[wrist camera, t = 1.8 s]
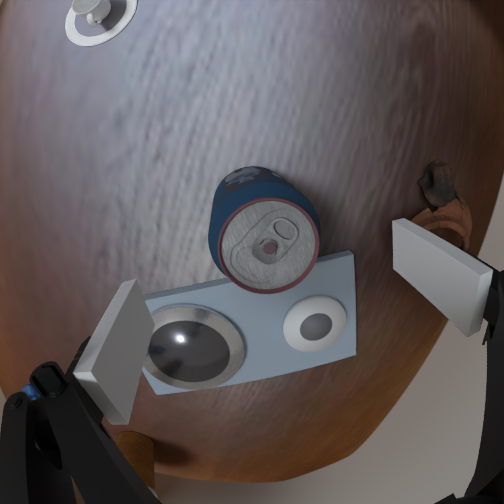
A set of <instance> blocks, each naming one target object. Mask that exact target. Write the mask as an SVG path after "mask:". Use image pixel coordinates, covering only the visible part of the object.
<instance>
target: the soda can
mask: <svg viewBox="0 0 504 504" xmlns="http://www.w3.org/2000/svg"><path fill="white" fill-rule="evenodd" d="M320 236H321V231H320V223H319V219H318V216H317V214H316V211H315V209H314V208H313V206H312V205H311V203H310V202H309V201H308V200H307V198H306V197H304V196H303V195H302V194H301V193H300V192H299V191H297V190H296V189H295V188H294V187H292V186H291V185H290V184H288V183H287V182H286V181H285V180H283V179H282V178H281V177H279V176H278V175H277V174H276V173H274V172H272V171H270V170H268V169H266V168H262V167H255V166H251V167H244V168H240V169H238V170H235V171H233V172H232V173H230V174H229V175H227V176H226V177H225V178H224V179H223V180H222V182H221V183H220V184H219V186H218V188H217V190H216V192H215V195H214V200H213V206H212V213H211V219H210V226H209V233H208V243H209V249H210V252H211V255H212V258H213V260H214V262H215V264H216V265H217V267H218V268H219V269H220V271H221V272H222V273H223V274H224V275H225V276H226V277H228V278H229V279H230V280H231V281H232V282H233V283H235V284H236V285H237V286H239V287H240V288H242V289H244V290H247V291H249V292H252V293H257V294H275V293H280V292H283V291H286V290H289V289H291V288H293V287H295V286H296V285H298V284H299V283H300V282H301V281H303V280H304V279H305V278H306V276H307V275H308V274H309V273H310V271H311V270H312V268H313V267H314V265H315V262H316V260H317V257H318V253H319V244H320Z"/></svg>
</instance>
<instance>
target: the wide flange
mask: <svg viewBox="0 0 504 504" xmlns="http://www.w3.org/2000/svg"><path fill="white" fill-rule="evenodd" d="M150 314H151V317H152V319H153V321H154V324H155V326H154V330H153V333H152V336H151V340H150V343H149V347H148V350H147V354H146V357H145V361H144V364H143V366H144V368H145V369H146V370H147V371H148V372H149V373H150V374H151V375H153V376H154V377H155V378H157V379H158V380H160V381H162V382H164V383H166V384H168V385H171V386H173V387H177V388H181V389H188V390H202V389H209V388H213V387H216V386H219V385H221V384H223V383H225V382H227V381H228V380H229V379H231V378H232V377H233V376H234V375H235V374H236V373H237V372H238V370H239V369H240V367H241V365H242V362H243V358H244V347H243V341H242V337H241V334H240V332H239V330H238V329H237V327H236V326H235V325H234V323H233V322H232V321H231V320H230V319H229V318H227V317H226V316H225V315H223V314H222V313H220V312H218V311H217V310H214V309H212V308H210V307H207V306H204V305H200V304H195V303H175V304H169V305H166V306H163V307H160V308H158V309H156V310H155V311H153V312H152V313H150Z"/></svg>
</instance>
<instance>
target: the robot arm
mask: <svg viewBox="0 0 504 504" xmlns="http://www.w3.org/2000/svg"><path fill="white" fill-rule="evenodd" d="M392 228H393V269H394V270H395V271H396V272H398V273H399V274H400V275H401V276H402V277H403V278H404V279H406V280H407V281H408V282H409V283H410V284H411V285H412V286H413V287H415V288H416V289H417V290H418V291H419V292H420V293H421V294H422V295H423V296H425V297H426V298H427V299H428V300H429V301H430V302H431V303H432V304H433V305H434V306H435V307H436V308H438V309H439V310H440V311H441V312H442V313H443V314H444V315H445V316H446V317H447V318H448V319H449V320H450V321H451V322H452V323H453V324H454V325H455V326H456V327H457V328H458V329H460V330H461V332H462V333H464V334H465V335H466V336H467V337H469V336H471V335H473V334H474V333H476V332H478V331H480V328H481V324H482V321H483V318H484V319H485V320H487V321H488V326H487V329H486V333H485V336H484V339H483V343H482V345H484V344H485V341H487V385H486V402H485V412H484V413H485V414H484V421H483V430H482V436H481V443H480V449H479V455H478V460H477V465H476V469H475V473H474V476H473V478H472V480H471V482H470V484H469V486H468V488H467V490H466V492H465V495H464V497H461V498H457V499H456V497H455V495H454V494H451V495H449V496H447V497H446V498H444V499H442V500H440V501H438V502H437V503H435V504H504V270H503V271H501V272H499V271H498V270H496V269H495V268H493V267H492V266H490V265H488V264H487V263H485V262H484V261H481V260H480V259H479V258H477V257H475V256H474V255H472V254H471V253H469V252H467V251H464V250H461V249H459V248H457V247H455V246H453V245H452V244H450V243H448V242H447V241H445V240H443V239H441V238H440V237H438V236H436V235H434V234H433V233H431V232H429V231H427V230H425V229H423V228H422V227H420V226H418V225H416V224H414V223H412V222H410V221H409V220H407V219H405V218H402V219H398V220H394V221H392ZM154 326H155V324H154V321H153V319H152V317H151V314H150V312H149V309H148V307H147V305H146V302H145V300H144V297H143V295H142V292H141V290H140V287H139V285H138V282H137V280H136V279H134V280H130V281H125V282H123V283H122V284H121V286H120V288H119V289H118V291H117V293H116V294H115V296H114V298H113V299H112V301H111V303H110V305H109V306H108V308H107V310H106V312H105V313H104V315H103V317H102V319H101V320H100V322H99V324H98V326H97V328H96V329H95V331H94V333H93V335H92V336H89V337H88V338H87V339H86V340H85V341H84V342H83V343H82V344H81V346H80V348H79V350H78V351H77V354H76V355H75V357H74V360H73V361H72V363H71V364H70V366H69V368H68V370H67V372H66V374H64V373H63V371H62V370H61V368H60V367H59V365H58V364H57V363H56V362H53V361H50V362H46V363H43V364H41V365H40V366H38V367H37V368H36V369H35V370H34V371H33V372H32V374H31V376H30V381H29V382H30V383H31V385H32V386H33V387H34V389H35V390H36V391H37V393H38V394H39V395H40V397H41V398H38V399H35V400H31V399H30V398H29V397H28V395H27V394H26V393H25V392H17V393H15V394H12V395H11V397H9V398H8V400H7V401H6V403H5V405H4V409H3V416H2V424H1V433H0V504H77V503H76V498H75V494H74V489H73V484H72V480H71V476H72V478H73V480H74V482H75V484H76V486H77V488H78V490H79V492H80V494H81V496H82V498H83V500H84V501H85V503H86V504H162V503H161V502H160V501H159V500H158V499H157V497H156V496H155V495H154V494H153V493H152V492H151V490H150V489H149V488H148V487H147V485H146V484H145V483H144V482H143V480H142V479H141V478H140V477H139V475H138V474H137V473H136V471H135V470H134V469H133V467H132V466H131V465H130V463H129V462H128V461H127V459H126V458H125V457H124V455H123V454H122V452H121V451H120V449H119V448H118V446H117V445H116V444H115V442H114V441H113V439H112V437H111V436H110V434H109V433H108V431H107V430H106V428H105V427H104V426H103V425H102V423H101V422H102V418H103V415H104V416H105V418H106V419H107V420H108V421H109V423H110V424H111V425H123V424H129V419H130V415H131V411H132V407H133V403H134V399H135V395H136V391H137V387H138V383H139V379H140V376H141V372H142V368H143V364H144V361H145V357H146V354H147V350H148V347H149V343H150V340H151V336H152V333H153V330H154Z"/></svg>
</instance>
